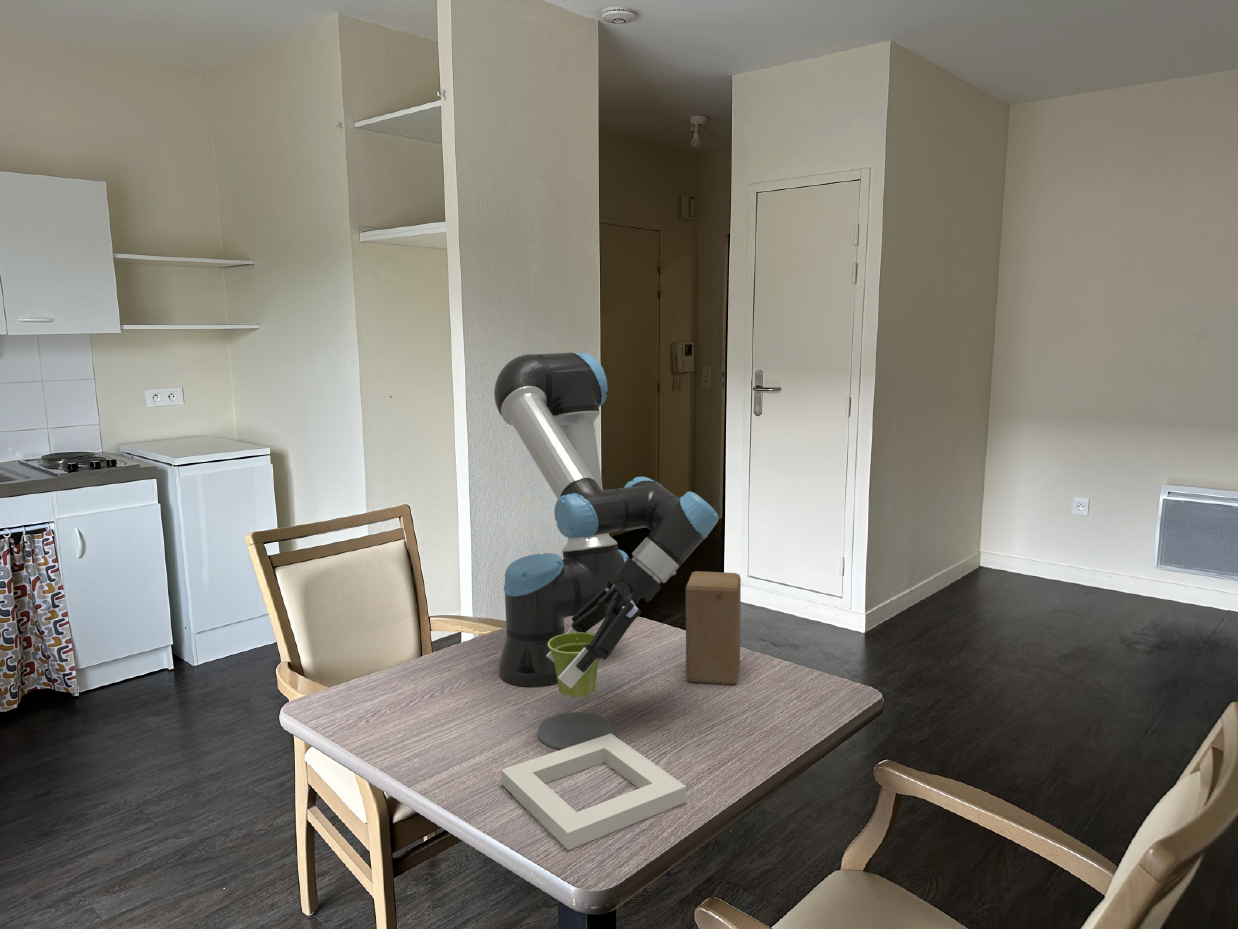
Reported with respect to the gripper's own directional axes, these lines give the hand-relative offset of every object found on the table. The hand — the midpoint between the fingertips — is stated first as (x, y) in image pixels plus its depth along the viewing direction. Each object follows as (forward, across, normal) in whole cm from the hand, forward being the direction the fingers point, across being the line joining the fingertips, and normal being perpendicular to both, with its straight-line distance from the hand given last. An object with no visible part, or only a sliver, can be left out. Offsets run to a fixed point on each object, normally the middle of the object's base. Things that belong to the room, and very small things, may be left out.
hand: (558, 671), depth 142 cm
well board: (+8, -19, -9) cm, 22 cm away
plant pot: (+1, 0, -5) cm, 5 cm away
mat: (+6, +1, -10) cm, 12 cm away
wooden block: (-16, +16, -33) cm, 40 cm away
